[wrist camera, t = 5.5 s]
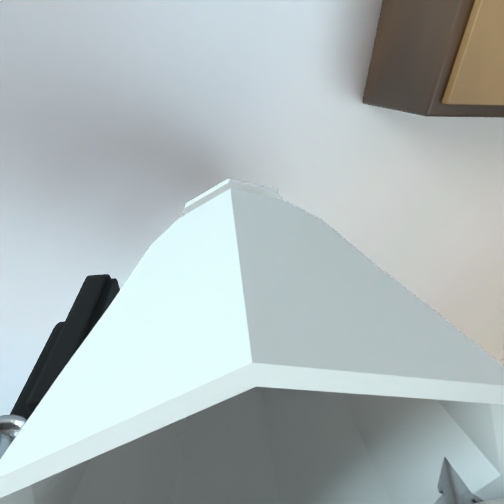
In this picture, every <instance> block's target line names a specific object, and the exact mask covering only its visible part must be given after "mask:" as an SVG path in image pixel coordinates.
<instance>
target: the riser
mask: <svg viewBox="0 0 504 504" xmlns="http://www.w3.org/2000/svg"><path fill="white" fill-rule="evenodd" d="M363 103H364V104H368V105H373V106H378V107H383V108H388V109H393V110H398V111H403V112H407V113H412V114H417V115H422V116H436V117H504V0H383V3H382V8H381V13H380V18H379V23H378V28H377V33H376V38H375V43H374V48H373V53H372V58H371V63H370V68H369V73H368V78H367V83H366V88H365V93H364V98H363Z"/></svg>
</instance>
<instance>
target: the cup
mask: <svg viewBox="0 0 504 504" xmlns="http://www.w3.org/2000/svg"><path fill="white" fill-rule="evenodd" d="M444 457H446V459H447V460H448V461H449V463H450V464H451V466H452V467H453V468H454V470H455V471H456V472H457V474H458V475H459V477H460V478H461V479H462V481H463V482H464V483H465V485H466V486H467V488H468V489H469V490H470V492H471V493H472V494H474V495H476V496H477V497H479V498H480V499H482V500H483V501H488V500H493V499H498V498H503V497H504V366H503V365H501V364H500V363H499V362H498V361H496V360H495V359H494V358H493V357H491V356H490V355H489V354H488V353H487V352H485V351H484V350H483V349H482V348H480V347H479V346H478V345H477V344H475V343H474V342H473V341H472V340H471V339H469V338H468V337H467V336H466V335H464V334H463V333H462V332H461V331H459V330H458V329H457V328H456V327H455V326H453V325H452V324H451V323H450V322H448V321H447V320H446V319H445V318H443V317H442V316H441V315H440V314H439V313H437V312H436V311H435V310H434V309H432V308H431V307H430V306H428V305H427V304H426V303H425V302H423V301H422V300H421V299H419V298H418V297H417V296H416V295H414V294H413V293H412V292H410V291H409V290H408V289H407V288H405V287H404V286H403V285H401V284H400V283H399V282H398V281H396V280H395V279H394V278H392V277H391V276H390V275H389V274H387V273H386V272H385V271H383V270H382V269H381V268H380V267H378V266H377V265H376V264H374V263H373V262H372V261H371V260H370V259H368V258H367V257H366V256H365V255H364V254H362V253H361V252H360V251H359V250H358V249H356V248H355V247H354V246H353V245H352V244H350V243H349V242H348V241H347V240H346V239H344V238H343V237H342V236H341V235H340V234H338V233H337V232H336V231H335V230H334V229H332V228H331V227H330V226H329V225H328V224H326V223H325V222H324V221H323V220H322V219H320V218H318V217H316V216H314V215H312V214H310V213H308V212H306V211H304V210H302V209H301V208H299V207H297V206H295V205H293V204H291V203H289V202H286V201H284V200H283V199H282V197H281V195H280V193H279V191H278V190H276V189H272V188H268V187H264V186H259V185H255V184H251V183H247V182H243V181H239V180H235V179H231V178H228V179H227V180H225V181H223V182H222V183H220V184H218V185H216V186H215V187H213V188H211V189H210V190H208V191H206V192H205V193H203V194H201V195H199V196H198V197H196V198H194V199H193V200H191V201H189V202H188V203H186V204H185V209H184V214H183V216H182V217H180V218H179V219H178V220H177V221H176V222H175V223H174V224H173V225H172V226H170V227H169V228H168V229H167V230H166V231H165V232H164V233H163V234H162V235H161V236H160V237H159V238H158V239H157V240H156V241H155V242H154V243H153V244H152V245H151V246H150V247H149V248H148V250H147V251H146V253H145V254H144V256H143V257H142V259H141V260H140V262H139V263H138V265H137V266H136V268H135V269H134V270H133V272H132V273H131V275H130V276H129V278H128V279H127V281H126V282H125V284H124V285H123V287H122V288H121V290H120V291H119V293H118V294H117V295H116V297H115V298H114V300H113V301H112V303H111V304H110V306H109V307H108V309H107V310H106V311H105V313H104V314H103V315H102V317H101V318H100V320H99V321H98V322H97V324H96V325H95V326H94V328H93V329H92V330H91V332H90V333H89V335H88V336H87V337H86V339H85V340H84V341H83V343H82V344H81V346H80V347H79V348H78V350H77V351H76V352H75V354H74V355H73V356H72V358H71V359H70V361H69V362H68V363H67V365H66V366H65V367H64V369H63V370H62V372H61V373H60V374H59V376H58V377H57V379H56V380H55V382H54V383H53V384H52V386H51V387H50V389H49V390H48V392H47V393H46V394H45V396H44V397H43V399H42V400H41V402H40V403H39V404H38V406H37V407H36V409H35V410H34V412H33V413H32V414H31V416H30V417H29V419H28V420H27V422H26V423H25V425H24V426H23V427H22V429H21V430H20V432H19V433H18V435H17V436H16V437H15V439H14V440H13V442H12V443H11V445H10V446H9V447H8V449H7V450H6V452H5V453H4V455H3V456H2V457H1V459H0V504H434V503H435V502H436V501H437V500H438V498H439V497H440V496H441V495H442V494H441V493H439V491H438V487H437V486H438V482H439V477H440V473H441V469H442V465H443V461H444Z"/></svg>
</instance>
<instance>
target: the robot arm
mask: <svg viewBox="0 0 504 504" xmlns="http://www.w3.org/2000/svg"><path fill="white" fill-rule="evenodd" d="M119 291H120V289H119V285H118V282H117V279H111V277H110V276H109V275H108V274H105V275H91V276H87V277H86V279H85V281H84V283H83V285H82V287H81V289H80V292H79V294H78V296H77V298H76V300H75V302H74V304H73V306H72V308H71V310H70V312H69V314H68V317H67V319H66V321H65V322H59V323H58V324H57V325H56V326H55V327H54V329H53V331H52V333H51V335H50V337H49V339H48V341H47V343H46V345H45V347H44V349H43V351H42V353H41V355H40V356H39V358H38V360H37V362H36V364H35V366H34V368H33V370H32V372H31V374H30V376H29V378H28V380H27V382H26V384H25V386H24V388H23V390H22V392H21V394H20V396H19V398H18V400H17V402H16V404H15V406H14V408H13V409H12V411H11V413H10V415H3V416H0V459H1V457H2V456H3V455H4V453H5V452H6V450H7V449H8V447H9V446H10V445H11V443H12V442H13V440H14V439H15V437H16V436H17V435H18V433H19V432H20V430H21V429H22V427H23V426H24V425H25V423H26V422H27V420H28V419H29V417H30V416H31V414H32V413H33V412H34V410H35V409H36V407H37V406H38V404H39V403H40V402H41V400H42V399H43V397H44V396H45V394H46V393H47V392H48V390H49V389H50V387H51V386H52V384H53V383H54V382H55V380H56V379H57V377H58V376H59V374H60V373H61V372H62V370H63V369H64V367H65V366H66V365H67V363H68V362H69V361H70V359H71V358H72V356H73V355H74V354H75V352H76V351H77V350H78V348H79V347H80V346H81V344H82V343H83V341H84V340H85V339H86V337H87V336H88V335H89V333H90V332H91V330H92V329H93V328H94V326H95V325H96V324H97V322H98V321H99V320H100V318H101V317H102V315H103V314H104V313H105V311H106V310H107V309H108V307H109V306H110V304H111V303H112V301H113V300H114V298H115V297H116V295H117V294H118V293H119ZM437 487H438V491H439V493H441V494H442V495H441V496H440V497H439V498H438V500H437V501H436V502H435V503H434V504H504V497H503V498H498V499H493V500H488V501H483V500H482V499H480V498H479V497H477V496H476V495H474V494H472V493H471V492H470V490H469V489H468V488H467V486H466V485H465V483H464V482H463V481H462V479H461V478H460V477H459V475H458V474H457V472H456V471H455V470H454V468H453V467H452V466H451V464H450V463H449V461H448V460H447V459H446V457H444V461H443V465H442V469H441V473H440V477H439V482H438V486H437Z"/></svg>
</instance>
